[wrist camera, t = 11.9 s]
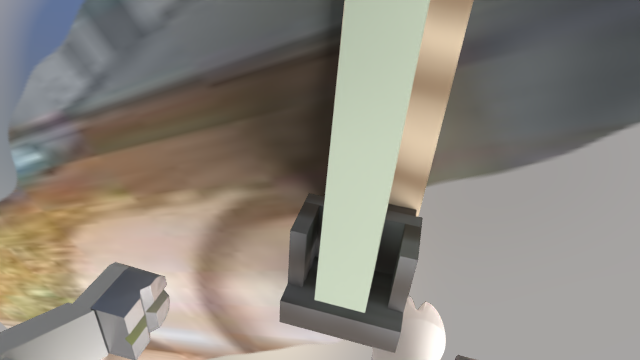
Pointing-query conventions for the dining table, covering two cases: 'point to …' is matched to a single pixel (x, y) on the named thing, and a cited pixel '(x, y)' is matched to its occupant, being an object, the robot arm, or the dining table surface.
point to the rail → (365, 141)
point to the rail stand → (403, 208)
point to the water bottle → (417, 335)
